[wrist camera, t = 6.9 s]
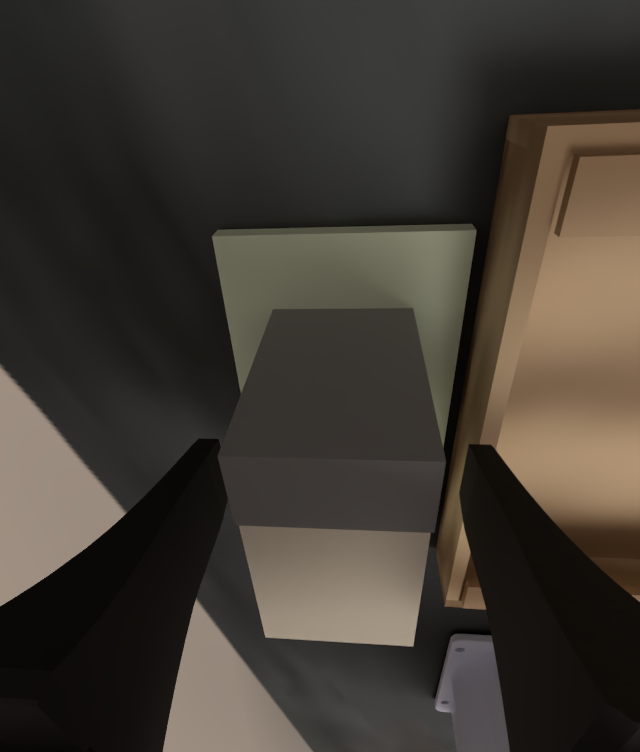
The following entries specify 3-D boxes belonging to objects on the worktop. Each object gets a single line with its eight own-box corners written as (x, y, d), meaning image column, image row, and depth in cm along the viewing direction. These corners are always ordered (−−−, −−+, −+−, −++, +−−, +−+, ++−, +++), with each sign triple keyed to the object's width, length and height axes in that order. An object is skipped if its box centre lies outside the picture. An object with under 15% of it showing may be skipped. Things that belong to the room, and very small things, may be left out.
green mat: (429, 513, 19) (431, 525, 18) (266, 507, 19) (263, 519, 19) (472, 223, 12) (476, 230, 11) (217, 229, 12) (211, 236, 12)
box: (399, 476, 17) (415, 650, 12) (292, 473, 17) (262, 641, 12) (413, 308, 13) (445, 461, 8) (272, 309, 13) (217, 456, 8)
